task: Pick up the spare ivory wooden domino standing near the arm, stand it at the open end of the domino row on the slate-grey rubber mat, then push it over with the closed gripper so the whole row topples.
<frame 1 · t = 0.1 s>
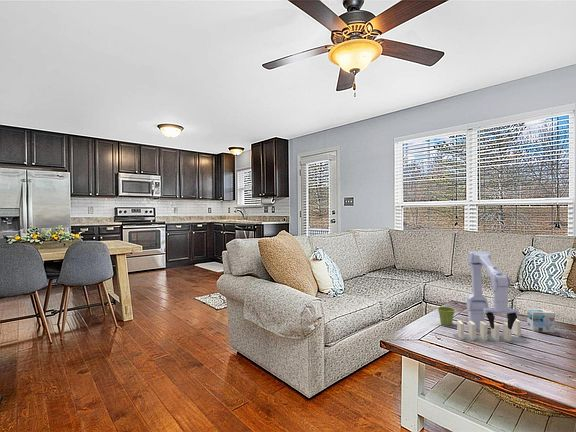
hand: (501, 328, 153), 10 cm above the table, fingers open, 7 cm apart
domino 1: (507, 339, 163), resting on mat
domino 4: (472, 337, 166), resting on mat
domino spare: (516, 334, 169), on the table
mat: (490, 339, 165), on the table
domino 5: (460, 337, 167), resting on mat
domino 2: (495, 338, 164), resting on mat
plant pot: (446, 323, 188), on the table
light bulb box: (541, 330, 175), on the table
domino 3: (483, 338, 165), resting on mat
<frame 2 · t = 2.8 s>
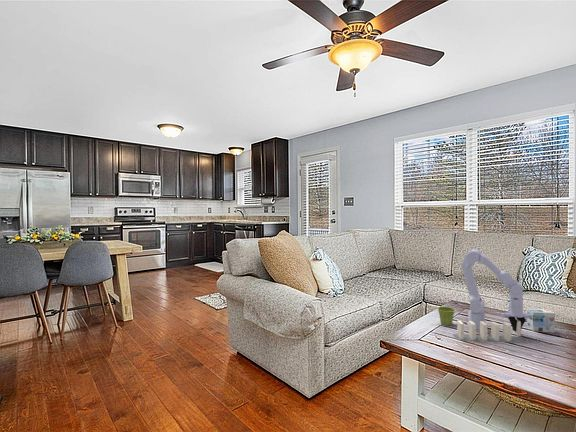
hand: (516, 330, 169), 2 cm above the table, fingers closed on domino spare, 2 cm apart
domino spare: (516, 334, 169), on the table, touching gripper
everything else where it was.
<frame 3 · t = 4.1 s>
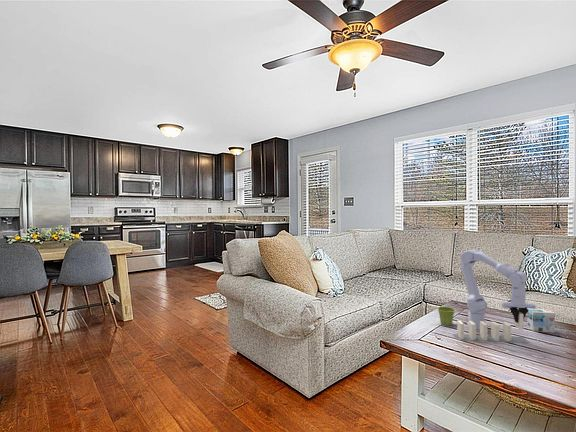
hand: (518, 322, 162), 9 cm above the table, fingers closed on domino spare
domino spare: (518, 327, 162), point 6 cm above the table, touching gripper
everything else where it was.
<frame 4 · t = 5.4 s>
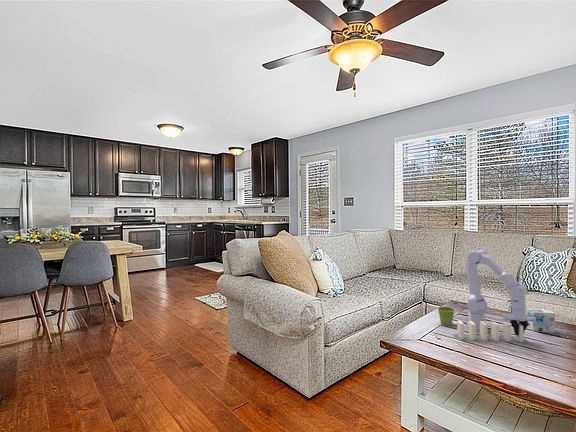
hand: (519, 334, 162), 3 cm above the table, fingers closed on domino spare, 2 cm apart
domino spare: (519, 339, 162), resting on mat, touching gripper
everything else where it was.
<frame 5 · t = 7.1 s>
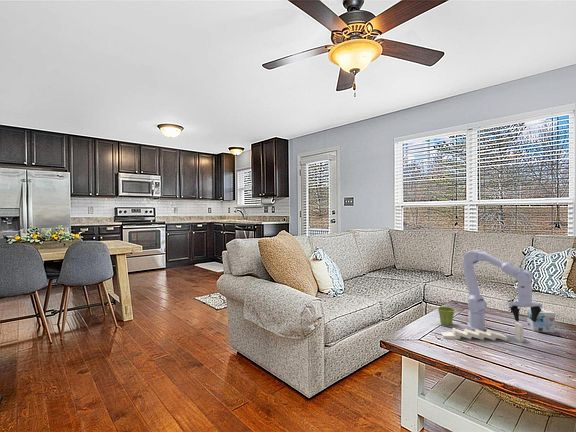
hand: (525, 321, 161), 10 cm above the table, fingers open, 7 cm apart
domino 1: (505, 337, 163), point 1 cm above the table, tilted 73°, touching domino 2, mat
domino 4: (469, 336, 167), point 1 cm above the table, tilted 71°, touching domino 3, domino 5, mat
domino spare: (519, 339, 162), resting on mat
domino 5: (458, 335, 167), point 1 cm above the table, tilted 93°, touching domino 4, mat
domino 2: (493, 337, 164), point 1 cm above the table, tilted 73°, touching domino 1, domino 3, mat
domino 3: (481, 336, 165), point 1 cm above the table, tilted 73°, touching domino 2, domino 4, mat
everything else where it was.
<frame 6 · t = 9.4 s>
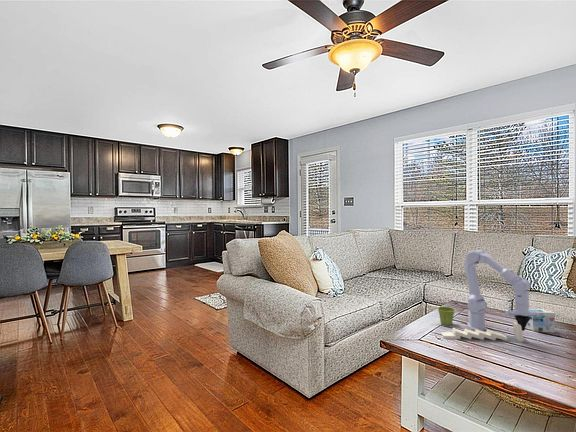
hand: (522, 329, 162), 5 cm above the table, fingers closed
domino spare: (519, 339, 162), resting on mat, tilted 7°, touching gripper
everything else where it was.
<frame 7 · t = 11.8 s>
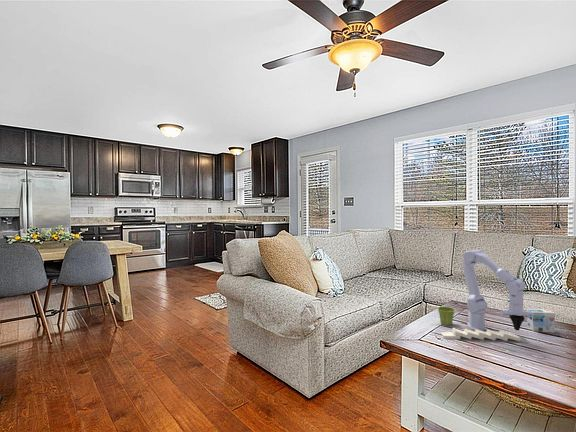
hand: (516, 329, 162), 5 cm above the table, fingers closed
domino 1: (505, 337, 163), point 1 cm above the table, tilted 73°, touching domino 2, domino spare, mat
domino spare: (517, 338, 162), point 1 cm above the table, tilted 74°, touching domino 1, mat
everything else where it was.
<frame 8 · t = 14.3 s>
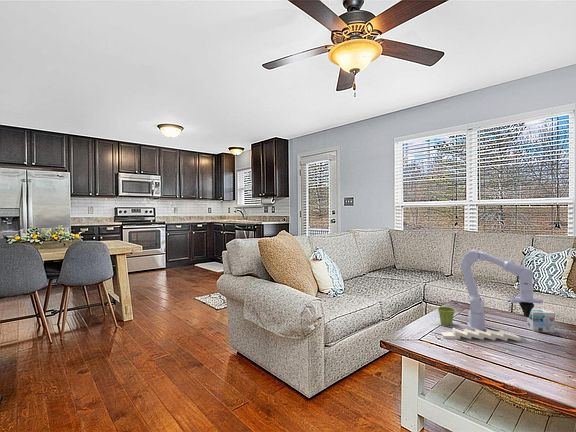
hand: (526, 316, 167), 10 cm above the table, fingers closed
nothing on the table moved.
at the end: domino 5 tilted 93°; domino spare tilted 74°; the gripper is holding nothing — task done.
